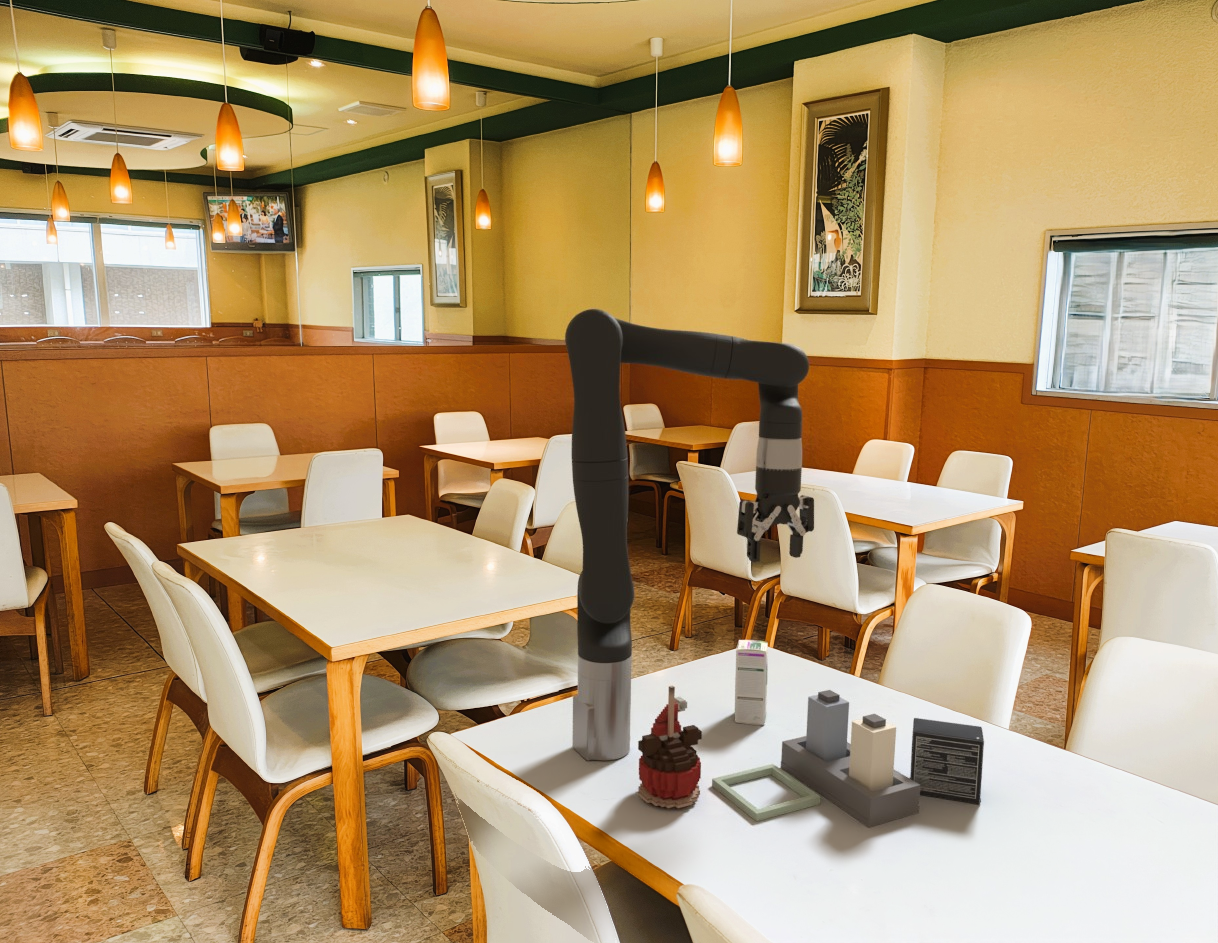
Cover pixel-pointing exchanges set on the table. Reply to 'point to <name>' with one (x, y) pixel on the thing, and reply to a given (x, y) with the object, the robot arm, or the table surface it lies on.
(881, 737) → the plug
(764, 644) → the syrup box
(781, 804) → the tray frame
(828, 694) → the blue-grey knobbed block
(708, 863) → the table surface
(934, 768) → the small box
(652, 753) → the cake
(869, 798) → the outlet strip
